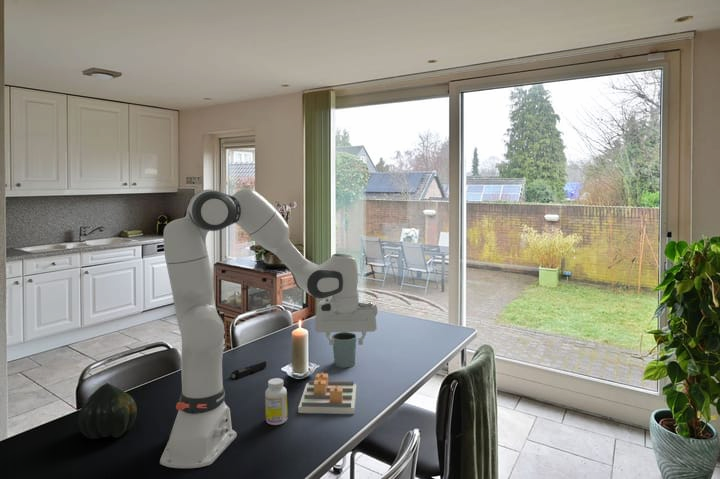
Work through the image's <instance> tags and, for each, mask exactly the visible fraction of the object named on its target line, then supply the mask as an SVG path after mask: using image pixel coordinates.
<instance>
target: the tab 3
mask: <svg viewBox="0 0 720 479" xmlns="http://www.w3.org/2000/svg"><path fill="white" fill-rule="evenodd" d="M342 402H343V387H338V386H335V387H331V388H330V403H342Z"/></svg>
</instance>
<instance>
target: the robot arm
mask: <svg viewBox="0 0 720 479" xmlns="http://www.w3.org/2000/svg"><path fill="white" fill-rule="evenodd" d="M233 224H236V225H237V226H239V227H240V228H241V229H242V230H243V231H244V232H245V233H246V235H248V236H249V238H250V239H251V240H253V241H254V242H255V243H256V244H258V245H259V246H260V247H262V248H263V249H265V250H267V251H269V252H271V253H272V254H274V255H275V256H276V257H277V258H278V259H279V261H280V262H281V263H283V264H284V266H285V267H286V268H287V269H288V270H289V271H290V273H291V276H292V279H293V281H294V282H293V283H295V286H296V287H297V288H298V289H299V290H300V291H303V292H305V293H307V294H308V295H310V296H312V297H313V298H316V299H320V301H319V302H318V304H317V312H316V315H315V318H314V331H315V332H316V333H318V334H319V333H325V337H326V338H327V340H328V341H329V346H333V345H334V338H332V335H331V333H340V332H349V333H361V337H359V338H357V340H358V343H357V344H358V346H361V345H362V346H363V345H364V339H365V337H366V336H367V333H368V332H369V333H373V332H376V330H377V329H378V328H377V327H378V326H377V325H378V324H377V318H376V316H377V315H378V307H377V305H376V304H374V303H373V302H368V303H367V302H360V301H359V298H360V297H359V295H360V294H359V290H358V284H359V272H358V271H359V269H358V263H357V260H356V258H355V257H354V256H352V255H350V254H344V253H334V254H332V256H330V258H328V259H327V260H325V261H324V262H323V263H321V264H319V263H316V262H314V261H312V260H308V259H307V258H306V257H305V256H304V255H303V254H302V253H301V252H300V251H299V250H298V249H297V248H296V246H295V245H294V244H293V243H292V241H291V239H290V237H289V235H290V226H289V225H288V223H287V221H286V219H285V218H284V217H283V215H282V214H281V213H280V212H279V211H278V210H277V209H276V207H275V206H274V205H273V204H272V203H270V201H269V200H267V199H266V198H265V197H264V196H262V194H260V193H259V192H257V191H256V190H255V189H253V188H248V187H246V188H242V189H240V190H238V191H236V192H235V193H234V194H233V195H230V194H226V193H223V192H221V191H218V190H215V189H204V190H203V189H202V190H199V191H198V192H196V193H194V194H192V196H191V198H190V199H189V200H188V203H187V205H186V209H185V211H184V213H183V217H181V218H176V219H174V220H172V221H169V223H167V224H166V225H165V226H164V229H163V250H164V259H165V264H166V268H167V274H168V278H169V283H170V284H169V285H170V287H171V293H172V300H173V304H174V310H175V315H176V321H177V325H178V328H179V332H180V336H181V337H180V339H181V366H180V367H181V368H180V371H181V372H180V373H181V389H182V390H181V391H180V397H179V401H178V402H177V403H176V405H175V409H176V411H177V415H176V418H175V420H174V424H173V426H172V429H171V432H170V434H169V439H168V441H167V443H166V446H165V448H164V450H163V452H162V455H161V457H160V460H159V465H162V466H163V467H164V466H165V467H167V468H173V469H195V468H196V469H197V468H202V467H206V466H210V465H212V464H213V463H214V462H215V461H216V460H217V459H218V458H219V456H220V455H221V454H222V453H224V451H225V450H226V449H227V448H228V447H229V445H231V443H233V441H234V440H235V439H236V438H238V437H237V436H238V434H237V431H235V430H234V429H233V428H232V419H231V409H230V407H229V406H228V405H227V404H226V402H225V399H226V397H225V396H226V391H225V386H224V385H223V353H224V346H225V345H224V341H225V340H224V339H225V325H224V322H223V319H222V317H221V316H220V315H219V313H218V311H217V307H216V300H215V292H214V278H213V274H212V273H213V272H212V269H211V262H210V259H209V257H210V256H209V254H208V249H207V248H208V247H207V235H208V233H209V232H217V231H221V230H224V229H225V228H227V227H229V226H232V225H233ZM321 299H322V300H321Z"/></svg>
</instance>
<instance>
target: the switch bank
mask: <svg viewBox="0 0 720 479" xmlns="http://www.w3.org/2000/svg"><path fill="white" fill-rule="evenodd" d="M314 381H315V380H309V381H308V382H307V383H306V385H305V387H304V391H303V392H302V395H301V398H300V402H299V405H298V406H297V409H298V410H297V412H298V413H299V414H330V415H331V414H332V415H333V414H337V415H338V414H340V415H354V414H355V408H356V397H357V383H354V381H351V380H350V381H343V380H342V381H341V380H339V381H338V380H328V388H327V393H326V395H314ZM335 386H338V387H343V402H342V403H330V388H331V387H335Z"/></svg>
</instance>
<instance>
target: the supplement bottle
mask: <svg viewBox="0 0 720 479" xmlns="http://www.w3.org/2000/svg"><path fill="white" fill-rule="evenodd" d="M284 383H285V382H284V379H282V378H278V377H275V378H270V379H269V380H267V386H268V387H267V389H266V390H265V391H264V393H265V394H264V398H265V399H264V400H265V421H266V423H267V424H269V425H271V426H278V425H283V424H284V423H286V422H287V420H288V392H287V388H286V387H285V386H284Z"/></svg>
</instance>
